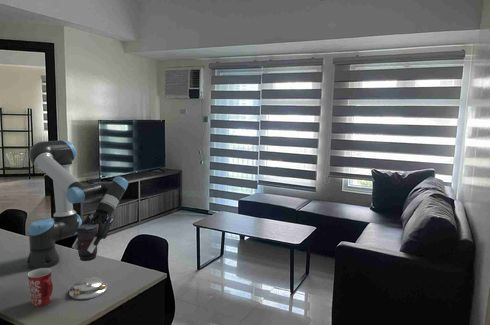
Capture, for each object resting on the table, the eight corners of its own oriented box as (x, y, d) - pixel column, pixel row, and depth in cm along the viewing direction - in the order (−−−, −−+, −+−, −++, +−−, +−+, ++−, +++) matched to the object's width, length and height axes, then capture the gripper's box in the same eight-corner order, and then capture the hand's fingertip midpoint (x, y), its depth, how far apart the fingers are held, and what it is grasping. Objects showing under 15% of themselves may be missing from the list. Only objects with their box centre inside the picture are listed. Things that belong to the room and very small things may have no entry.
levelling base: (78, 282, 171) (78, 275, 171) (112, 282, 172) (112, 275, 171) (62, 299, 155) (62, 291, 155) (100, 299, 156) (99, 292, 156)
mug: (25, 303, 152) (23, 273, 150) (46, 294, 159) (45, 265, 157) (39, 313, 145) (38, 281, 143) (61, 303, 152) (60, 273, 150)
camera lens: (90, 262, 157) (89, 230, 155) (74, 260, 159) (73, 228, 157) (101, 255, 165) (100, 224, 163) (85, 254, 166) (84, 222, 164)
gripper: (128, 212, 170) (105, 257, 157) (94, 207, 177) (69, 249, 164) (120, 204, 164) (95, 250, 151) (85, 199, 171) (58, 242, 159)
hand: (81, 250), depth 158 cm, fingers closed on camera lens, 8 cm apart
